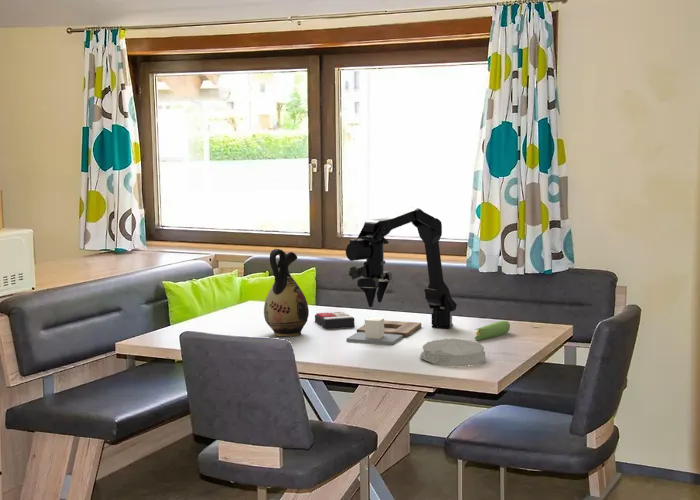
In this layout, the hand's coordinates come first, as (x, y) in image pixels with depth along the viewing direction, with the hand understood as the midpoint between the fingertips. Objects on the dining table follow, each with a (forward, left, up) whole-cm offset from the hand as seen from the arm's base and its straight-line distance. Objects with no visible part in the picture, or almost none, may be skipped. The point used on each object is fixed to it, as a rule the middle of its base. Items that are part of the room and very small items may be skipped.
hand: (375, 304), depth 288 cm
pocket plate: (0, -15, -12) cm, 20 cm away
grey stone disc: (-31, +17, -12) cm, 38 cm away
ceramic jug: (+32, +3, -12) cm, 34 cm away
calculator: (+23, -20, -12) cm, 32 cm away
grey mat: (0, +1, -12) cm, 12 cm away
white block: (0, 0, -11) cm, 11 cm away
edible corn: (-35, -16, -12) cm, 41 cm away
